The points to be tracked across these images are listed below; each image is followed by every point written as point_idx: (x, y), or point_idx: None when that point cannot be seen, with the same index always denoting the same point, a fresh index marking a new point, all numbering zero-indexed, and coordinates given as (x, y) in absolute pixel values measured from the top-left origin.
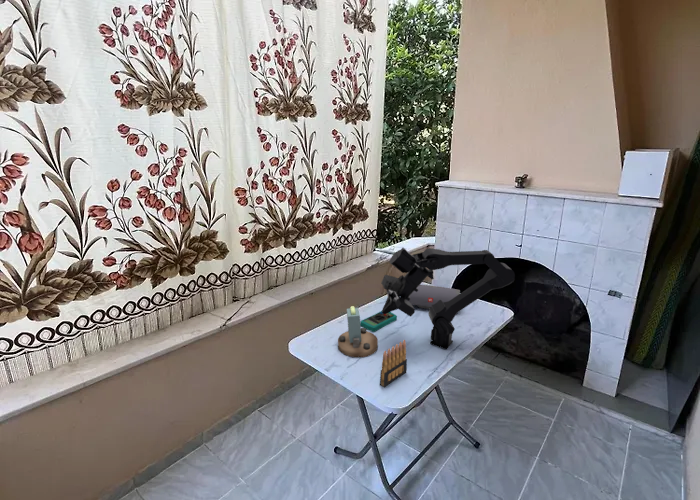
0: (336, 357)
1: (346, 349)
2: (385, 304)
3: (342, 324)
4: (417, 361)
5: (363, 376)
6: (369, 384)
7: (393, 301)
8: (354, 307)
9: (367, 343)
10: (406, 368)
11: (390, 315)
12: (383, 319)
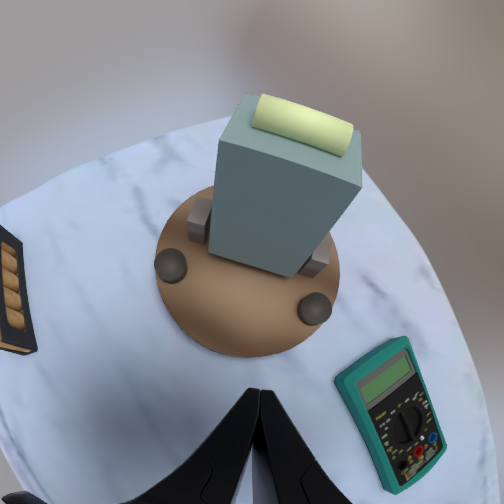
0: (204, 175)
1: (201, 192)
2: (286, 450)
3: (410, 274)
4: (63, 436)
5: (72, 215)
6: (38, 217)
7: (9, 498)
8: (338, 138)
9: (179, 271)
10: (12, 351)
11: (407, 471)
12: (391, 439)
